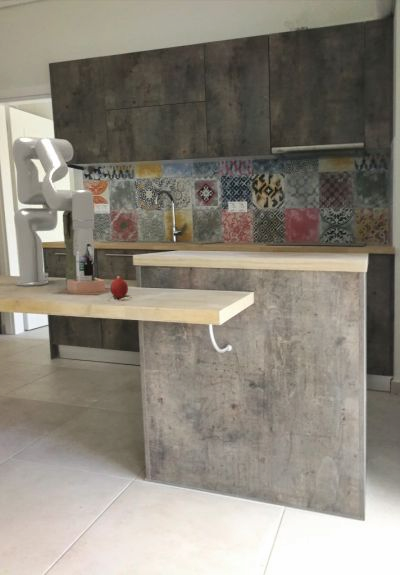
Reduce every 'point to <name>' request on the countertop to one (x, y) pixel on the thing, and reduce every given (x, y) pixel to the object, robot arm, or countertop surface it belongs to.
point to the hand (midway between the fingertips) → (85, 274)
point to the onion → (119, 288)
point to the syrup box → (82, 269)
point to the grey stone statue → (69, 245)
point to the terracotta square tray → (86, 286)
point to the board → (82, 293)
